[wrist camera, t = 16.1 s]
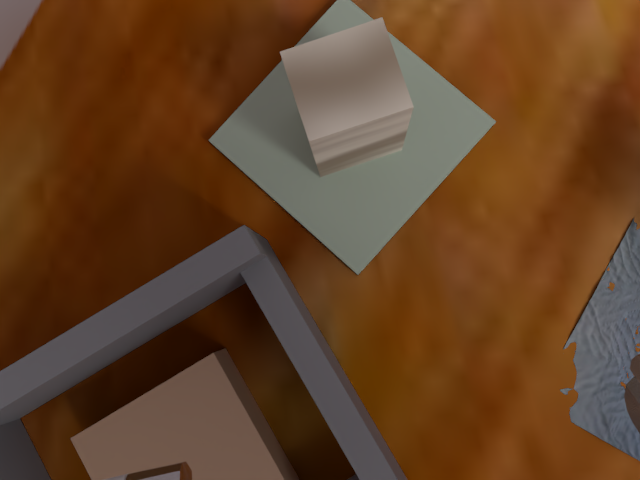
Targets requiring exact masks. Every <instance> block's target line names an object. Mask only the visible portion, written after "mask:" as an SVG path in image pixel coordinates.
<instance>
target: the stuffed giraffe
mask: <svg viewBox="0 0 640 480" xmlns="http://www.w3.org/2000/svg"><path fill="white" fill-rule="evenodd" d="M636 226H637V223H635V222H634V219H633V221H632V223H631V225H630V227H629V229H628V230H627V232H626V235H625V236H624V238H623V240H622V241H621V244H620V246H619V247H618V249H617V251H616V252H615V254H614V257H613V258H612V260H611V261H610V263H609V265H608V267H609V268H610V271H607V270H606V271H605V273H604V275H603V277H602V279H601V281H600V283H599V285H598V287H597V289H596V291H595V292H594V294H593V296H592V298H591V299H590V301H589V303H588V305H587V307H586V309H585V311H584V313H583V314H582V316H581V318H580V320H579V322H578V323H577V325H576V327H575V329H574V331H573V332H572V334H571V336H570V338H569V339H568V341H567V343H566V345H565V347H564V348H563V349H565V348H567V347H568V345H569V344H570V343H572V342H576V344H577V348H576V351H575V352H576V353H575V356H574V359H573V361H574V364H575V367H576V370H577V378H576V382H575V386H574V390H576V391H577V392H578V393H579V394H578V399H577V402H576V403H575V404H574V405H573V406H572V407H571V408H570V413H569V415H570V418H571V422H572V423H574V424H576V425H578V426H579V427H581V428H583V429H585V430H586V431H588V432H590V433H591V434H593V435H595V436H597V437H598V438H600V439H602V440H604V441H605V442H607V443H609V444H611V445H612V446H614V447H616V448H618V449H620V450H621V451H623V452H625V453H627V454H628V455H630V456H632V457H634V458H636V459H637V460H639V461H640V433H639V432H638V430H637V429H636V427H635V426H634V424H633V422H632V420H631V418H630V416H629V414H628V412H627V408H626V403H625V399H624V394H625V389H624V387H623V386H621V384H620V382H621V381H622V382H623V383H625V384H627V383H628V382H629V381H630V380H631V379H632V378H633V377H634V375H633V373H632V371H631V370H630V365H631V360H632V359H633V358H634V357H635V356H636V355H638V354H640V351H639V352H636V351H635V345H636V344H637V343H640V327H638V326H640V228H639V229H638V230H636ZM608 267H607V268H608ZM603 278H604V279H603ZM609 282H612V283H614V284H615V287H614V290H613V291H611V290H610V289H609V288H607V287H609ZM625 318H627V319H626V321H625ZM636 326H637V327H638V332H639V333H638V334H635V332H636V329H637V327H636ZM633 337H634V338H635V339H633ZM636 347H637V348H640V347H638V346H636ZM628 352H629V354H628ZM623 367H624V370H623ZM627 372H628V377H629V378H627V374H626V373H627ZM569 390H572V389H570V388H566V389H561V390H560V391H561V392H562V393H563V394H566V395H567V394H568V391H569Z"/></svg>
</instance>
